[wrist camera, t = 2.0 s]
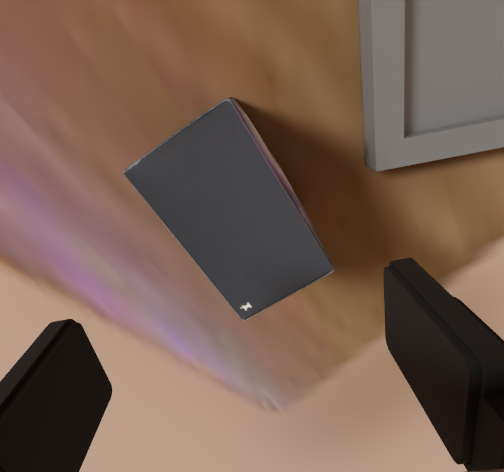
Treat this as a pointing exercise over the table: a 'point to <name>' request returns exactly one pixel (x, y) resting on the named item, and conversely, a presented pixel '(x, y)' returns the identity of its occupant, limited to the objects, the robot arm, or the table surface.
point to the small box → (232, 209)
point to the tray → (431, 79)
